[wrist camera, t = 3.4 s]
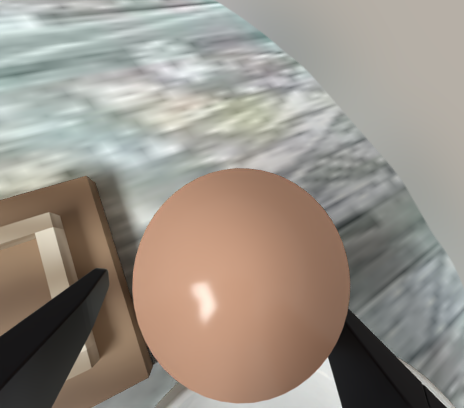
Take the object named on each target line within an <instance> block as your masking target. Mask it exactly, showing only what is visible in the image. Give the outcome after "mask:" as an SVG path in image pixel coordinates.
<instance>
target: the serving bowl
mask: <svg viewBox="0 0 464 408" xmlns="http://www.w3.org/2000/svg"><path fill="white" fill-rule="evenodd" d="M397 358H398V357H397ZM398 359H399V358H398ZM399 360H400V361H401V362H402V363H403V364H404V365H405V366H406V367H407V368H408V369H409V370H410V371H411V372H412V373H413V374H414V375H415V376H416V377H417V378H418V379H419V380H420V381H421V382H422V384H423V385H425V386H426V387H427V388H428V389H429V390H430V391H431V392H432V393H433V394H434V395H435V396H436V397H437V398H438V399H439V400H440V401H441V402H442V403H443V404H444V405H445V406H446V407H447V408H455V407H454V405H453V404H452V403H451V402H450V401H449V400H448V399H447V398H446V396H445V395H444V394H443V393H442V392H441V391H440V390H439V389H438V388H437V387H436V386H435V385H434V384H433V383H432V382H431V381H429V380H428V379H427V378H426V377H425V376H424V375H423V374H421V373H420V372H419V371H417V370H416V369H415V368H414V367H412V366H411V365H409V364H407V363H406V362H404V361H403V360H401V359H399ZM155 408H342V405H341V402H340V398H339V395H338V391H337V388H336V384H335V381H334V377H333V374H332V370H331V367H330V363H329V359H328V357H327V359H326V360H325V361H324V363H323V364H322V365H321V367H320V368H319V369H318V370H317V371H316V372H315V373H314V374H313V375H312V376H311V377H310V378H308V379H307V380H306V381H304V382H303V383H302V384H300V385H299V386H298V387H296V388H294V389H292V390H291V391H289V392H287V393H285V394H283V395H280V396H278V397H275V398H272V399H270V400H265V401H260V402H255V403H229V402H221V401H217V400H214V399H210V398H207V397H204V396H202V395H200V394H198V393H196V392H194V391H192V390H190V389H188V388H187V387H185V386H184V385H182V384H181V383H179V382H178V383H177V384H176V385H175V386H174V387H173V388H172V389H171V390H170V391H169V392H168V393H167V394H166V395H165V396H164V397H163V399H162V400H161V401H160V402H159V403H158V404H157V405H156V407H155Z"/></svg>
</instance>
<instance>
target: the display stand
mask: <svg viewBox="0 0 464 408" xmlns="http://www.w3.org/2000/svg"><path fill="white" fill-rule="evenodd" d="M95 268H104V269H107V270H108V274H109V288H108V291H107V293H106V296H105V298H104V301H103V303H102V306H101V308H100V311H99V314H98V316H97V319H96V321H95V324H94V326H93V328H92V331H91V333H90V335H89V337H88V339H87V341H86V343H85V344H84V346H83V348H82V350H81V352H80V354H79V356H78V358H77V360H76V362H75V364H74V366H73V368H72V369H71V371H70V373H69V375H68V377H67V379H66V381H65V383H64V385H63V387H62V389H61V391H60V392H59V394H58V396H57V398H56V400H55V402H54V404H53V406H52V408H92V407H94V406H95V405H97V404H99V403H101V402H103V401H105V400H107V399H109V398H111V397H112V396H114V395H116V394H118V393H120V392H122V391H124V390H126V389H128V388H130V387H131V386H133V385H135V384H137V383H139V382H141V381H143V380H145V379H147V378H149V375H150V373H151V370H152V367H153V365H152V362H151V359H150V355H149V352H148V349H147V346H146V343H145V340H144V338H143V335H142V332H141V330H140V327H139V325H138V321H137V317H136V313H135V309H134V305H133V301H132V298H131V295H130V292H129V289H128V286H127V282H126V279H125V276H124V273H123V270H122V266H121V263H120V260H119V257H118V254H117V251H116V247H115V244H114V241H113V238H112V235H111V232H110V228H109V225H108V222H107V219H106V216H105V212H104V209H103V206H102V203H101V200H100V197H99V193H98V190H97V187H96V184H95V182H94V181H92V180H91V179H90V178H89V177H87V176H84V177H81V178H77V179H73V180H70V181H66V182H63V183H59V184H56V185H52V186H49V187H45V188H42V189H38V190H34V191H31V192H27V193H24V194H20V195H17V196H13V197H10V198H6V199H3V200H0V336H1V335H3V334H4V333H5V332H7V331H8V330H10V329H11V328H12V327H14V326H15V325H17V324H18V323H19V322H21V321H22V320H23V319H25V318H26V317H28V316H29V315H30V314H32V313H33V312H35V311H36V310H37V309H39V308H40V307H42V306H43V305H44V304H46V303H47V302H49V301H50V300H51V299H53V298H54V297H56V296H57V295H58V294H60V293H61V292H62V291H64V290H65V289H67V288H68V287H69V286H71V285H72V284H74V283H75V282H76V281H78V280H79V279H81V278H82V277H83V276H85V275H86V274H88V273H89V272H90V271H92V270H93V269H95Z"/></svg>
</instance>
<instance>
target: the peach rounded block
mask: <svg viewBox="0 0 464 408" xmlns="http://www.w3.org/2000/svg"><path fill="white" fill-rule="evenodd" d="M132 291H133V301H134V309H135V313H136V317H137V321H138V325H139V327H140V330H141V332H142V335H143V338H144V340H145V342H146V344H147V345H148V347H149V349H150V351H151V352H152V354H153V356H154V357H155V358H156V359H157V361H158V362H159V363H160V365H161V366H162V367H163V368H164V369H165V370H166V371H167V372H168V373H169V374H170V375H171V376H172V377H173V378H174V379H175V380H176V381H178V382H179V383H181V384H182V385H184V386H185V387H187V388H188V389H190V390H192V391H194V392H196V393H198V394H200V395H202V396H204V397H207V398H210V399H214V400H217V401H221V402H229V403H255V402H260V401H265V400H270V399H272V398H275V397H278V396H280V395H283V394H285V393H287V392H289V391H291V390H292V389H294V388H296V387H298V386H299V385H300V384H302V383H303V382H304V381H306V380H307V379H308V378H310V377H311V376H312V375H313V374H314V373H315V372H316V371H317V370H318V369H319V368H320V367H321V365H322V364H323V363H324V361H325V360H326V359H327V357H328V356H329V355H330V353H331V352H332V350H333V348H334V346H335V345H336V343H337V341H338V339H339V336H340V334H341V331H342V329H343V326H344V323H345V319H346V316H347V311H348V305H349V299H350V274H349V266H348V261H347V256H346V252H345V249H344V246H343V243H342V240H341V238H340V235H339V233H338V231H337V229H336V227H335V225H334V224H333V222H332V220H331V219H330V217H329V216H328V214H327V213H326V211H325V210H324V209H323V208H322V207H321V205H320V204H319V203H318V202H317V201H316V200H315V199H314V198H313V197H312V196H311V195H310V194H308V193H307V192H306V191H305V190H303V189H302V188H301V187H299V186H298V185H296V184H295V183H293V182H291V181H289V180H287V179H286V178H283V177H281V176H278V175H276V174H273V173H270V172H266V171H262V170H256V169H242V168H235V169H227V170H221V171H217V172H213V173H209V174H207V175H204V176H202V177H199V178H197V179H195V180H193V181H192V182H190V183H188V184H186V185H185V186H183V187H182V188H181V189H179V190H178V191H177V192H175V193H174V194H173V195H172V196H171V197H170V198H169V199H168V200H167V201H166V202H165V203H164V204H163V205H162V206H161V207H160V209H159V210H158V211H157V212H156V214H155V215H154V217H153V218H152V220H151V221H150V223H149V225H148V226H147V228H146V230H145V233H144V235H143V237H142V239H141V241H140V245H139V248H138V251H137V254H136V258H135V264H134V270H133V287H132Z"/></svg>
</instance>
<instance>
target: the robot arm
mask: <svg viewBox="0 0 464 408" xmlns="http://www.w3.org/2000/svg"><path fill="white" fill-rule="evenodd" d="M108 288H109V274H108V270H107V269H104V268H95V269H93V270H92V271H90V272H89V273H88V274H86V275H85V276H83V277H82V278H81V279H79V280H78V281H76V282H75V283H74V284H72V285H71V286H69V287H68V288H67V289H65V290H64V291H62V292H61V293H60V294H58V295H57V296H56V297H54V298H53V299H51V300H50V301H49V302H47V303H46V304H44V305H43V306H42V307H40V308H39V309H37V310H36V311H35V312H33V313H32V314H30V315H29V316H28V317H26V318H25V319H23V320H22V321H21V322H19V323H18V324H17V325H15V326H14V327H12V328H11V329H10V330H8V331H7V332H5V333H4V334H3V335H1V336H0V408H52V406H53V404H54V402H55V400H56V398H57V396H58V394H59V392H60V391H61V389H62V387H63V385H64V383H65V381H66V379H67V377H68V375H69V373H70V371H71V369H72V368H73V366H74V364H75V362H76V360H77V358H78V356H79V354H80V352H81V350H82V348H83V346H84V344H85V343H86V341H87V339H88V337H89V335H90V333H91V331H92V328H93V326H94V324H95V321H96V319H97V316H98V314H99V311H100V308H101V306H102V303H103V301H104V298H105V296H106V293H107V291H108ZM328 359H329V363H330V367H331V370H332V374H333V377H334V381H335V384H336V388H337V391H338V395H339V398H340V402H341V405H342V408H447V407H446V406H445V405H444V404H443V403H442V402H441V401H440V400H439V399H438V398H437V397H436V396H435V395H434V394H433V393H432V392H431V391H430V390H429V389H428V388H427V387H426V386H425V385H423V384H422V382H421V381H420V380H419V379H418V378H417V377H416V376H415V375H414V374H413V373H412V372H411V371H410V370H409V369H408V368H407V367H406V366H405V365H404V364H403V363H402V362H401V361H400V360H399V359H398V358H397V357H396V356H395V355H394V354H393V353H392V352H391V351H390V350H389V349H388V348H387V347H386V346H385V345H384V344H383V343H382V342H381V341H380V340H379V339H378V338H377V337H376V336H375V335H374V334H373V333H372V332H371V331H370V330H369V329H368V328H367V327H366V326H365V325H364V324H363V323H362V322H361V321H360V320H359V319H358V318H357V317H356V316H355V315H354V314H353V313H352V312H351V311H350V310H349V309H348V311H347V316H346V319H345V323H344V326H343V329H342V331H341V334H340V336H339V339H338V341H337V343H336V345H335V346H334V348H333V350H332V352H331V353H330V355H329V356H328Z"/></svg>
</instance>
